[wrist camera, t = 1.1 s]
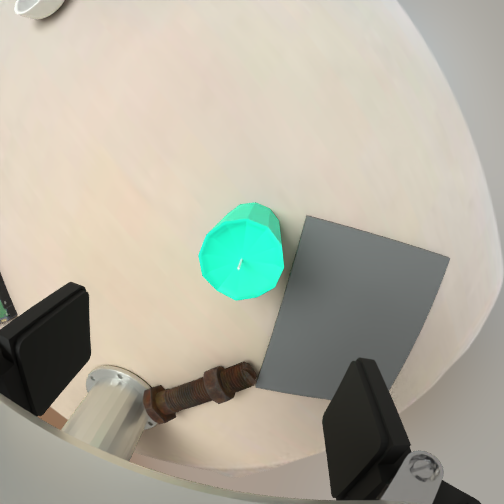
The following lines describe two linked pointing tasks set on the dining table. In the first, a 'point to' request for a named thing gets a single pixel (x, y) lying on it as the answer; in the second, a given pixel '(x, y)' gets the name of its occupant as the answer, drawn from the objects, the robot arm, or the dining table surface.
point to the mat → (348, 308)
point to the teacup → (37, 8)
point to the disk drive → (5, 303)
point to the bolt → (198, 391)
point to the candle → (243, 252)
